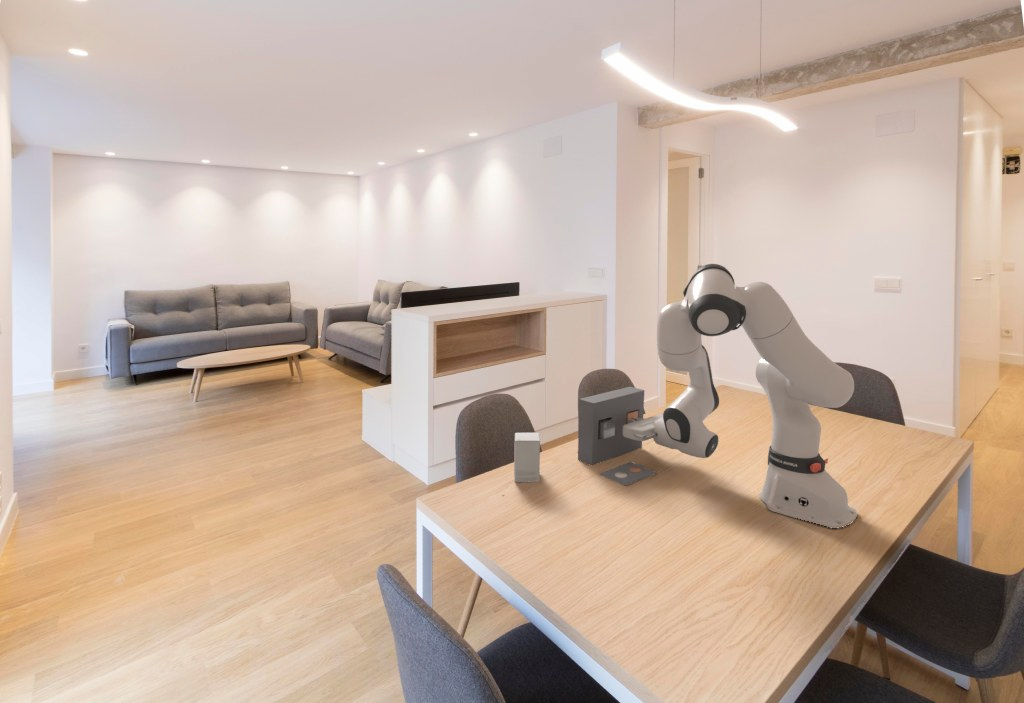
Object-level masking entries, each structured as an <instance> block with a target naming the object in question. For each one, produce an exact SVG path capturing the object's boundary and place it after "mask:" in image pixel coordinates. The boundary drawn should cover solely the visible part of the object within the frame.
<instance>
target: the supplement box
mask: <svg viewBox="0 0 1024 703" xmlns="http://www.w3.org/2000/svg"><path fill="white" fill-rule="evenodd" d="M513 447H514V457H513V458H514V461H513V464H514V465H513V466H514V469H513V472H514V473H513V476H514V479H513V480H514V483H515V482H516V483H539V482H540V476H541V475H540V473H541V472H540V471H541V470H540V466H541V465H540V464H541V462H540V461H541V460H540V459H541V458H540V457H541V449H540V448H541V439H540V432H515V433H514V446H513ZM528 481H530V482H528Z"/></svg>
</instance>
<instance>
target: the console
mask: <svg viewBox="0 0 1024 703" xmlns="http://www.w3.org/2000/svg"><path fill="white" fill-rule="evenodd" d="M644 407H645V390H644V389H641V388H637V387H634V386H627V387H623V388H618V389H615V390H610V391H606V392H602V393H599V394H594V395H593V394H592V395H591V396H586V397H582V398H579V400H578V437H577V438H578V440H577V442H578V445H577V460H578V461H580V460H581V461H580V462H582V461H583V462H582V463H584V462H585V464H586V465H589V464H590V465H589V466H591V465H592V466H595V465H598V464H601V463H603V461H604V462H606V461H609V460H611V459H614V458H617V457H620V456H623V455H625V454H628V453H631V452H635V451H637V450H640V449H643V441H637V440H633V439H629V438H626V437H624V436H623V425H625V424H626V416H627V412H631V411H634V410H636V411H638V418H643V419H644V409H645V408H644ZM606 418H610V419H613V420H615V436H611V437H608V438H605V439H602V438H599V437H598V425H599V420H603V419H606ZM600 462H601V463H600ZM597 463H598V464H597Z"/></svg>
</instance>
